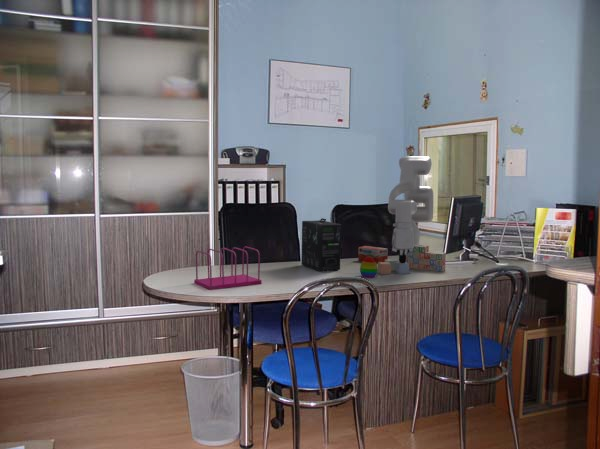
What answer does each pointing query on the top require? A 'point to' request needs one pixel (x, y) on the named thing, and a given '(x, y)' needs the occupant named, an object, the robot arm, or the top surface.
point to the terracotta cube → (384, 268)
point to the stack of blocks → (425, 259)
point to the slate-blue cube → (402, 268)
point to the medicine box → (373, 253)
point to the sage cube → (392, 263)
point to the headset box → (321, 245)
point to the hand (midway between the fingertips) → (402, 262)
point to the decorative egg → (368, 268)
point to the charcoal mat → (389, 274)
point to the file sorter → (228, 280)
